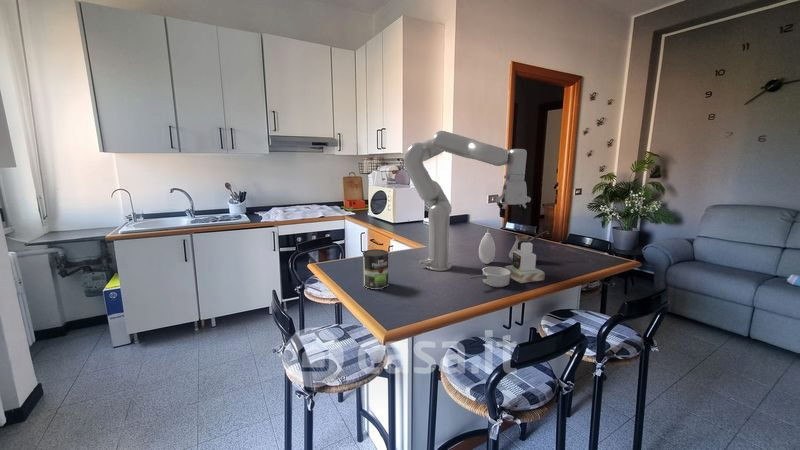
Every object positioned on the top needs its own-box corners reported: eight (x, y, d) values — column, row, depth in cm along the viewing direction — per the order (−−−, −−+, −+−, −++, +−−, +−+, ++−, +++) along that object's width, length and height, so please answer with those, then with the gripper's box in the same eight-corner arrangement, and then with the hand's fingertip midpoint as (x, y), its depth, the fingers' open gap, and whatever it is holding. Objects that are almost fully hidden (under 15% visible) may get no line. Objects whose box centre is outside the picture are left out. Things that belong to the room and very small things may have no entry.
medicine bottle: (512, 266, 149) (513, 240, 146) (527, 265, 149) (529, 239, 147) (519, 271, 142) (521, 244, 139) (535, 270, 142) (537, 243, 140)
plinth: (520, 283, 139) (521, 274, 138) (503, 273, 150) (504, 265, 149) (544, 280, 142) (545, 271, 142) (526, 271, 154) (526, 263, 153)
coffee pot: (517, 265, 162) (519, 235, 159) (503, 259, 173) (505, 230, 170) (553, 261, 168) (556, 232, 165) (538, 255, 178) (540, 228, 176)
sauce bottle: (475, 264, 164) (477, 228, 161) (481, 260, 171) (483, 225, 167) (491, 266, 160) (493, 230, 157) (496, 262, 166) (498, 227, 163)
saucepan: (460, 285, 136) (460, 272, 135) (495, 277, 146) (495, 264, 145) (480, 295, 127) (481, 281, 126) (516, 285, 137) (517, 272, 136)
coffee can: (392, 287, 135) (392, 253, 132) (369, 292, 130) (368, 257, 127) (382, 279, 144) (381, 247, 141) (359, 283, 139) (359, 251, 136)
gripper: (502, 178, 138) (499, 219, 141) (537, 178, 143) (533, 218, 146) (492, 177, 145) (490, 216, 148) (526, 177, 150) (523, 215, 153)
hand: (511, 217), depth 147 cm, fingers open, 9 cm apart
